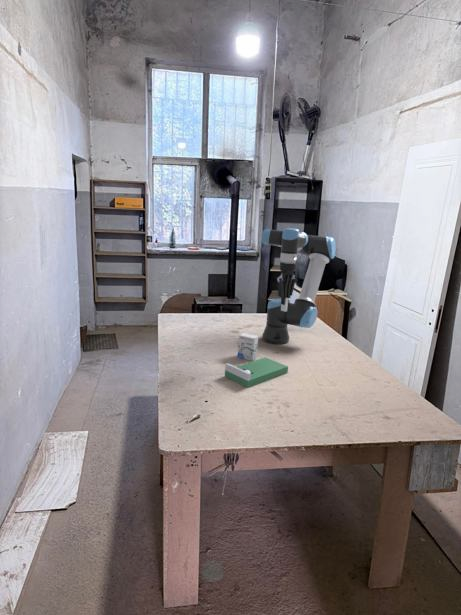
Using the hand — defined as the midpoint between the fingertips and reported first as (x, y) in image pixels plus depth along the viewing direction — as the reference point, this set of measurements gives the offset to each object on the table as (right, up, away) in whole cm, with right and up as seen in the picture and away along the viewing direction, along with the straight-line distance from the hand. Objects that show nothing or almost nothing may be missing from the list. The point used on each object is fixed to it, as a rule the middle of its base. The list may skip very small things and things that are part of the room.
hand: (283, 310), depth 204 cm
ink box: (-18, -23, +4) cm, 30 cm away
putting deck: (-14, -28, -15) cm, 35 cm away
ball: (-19, -27, -20) cm, 39 cm away
